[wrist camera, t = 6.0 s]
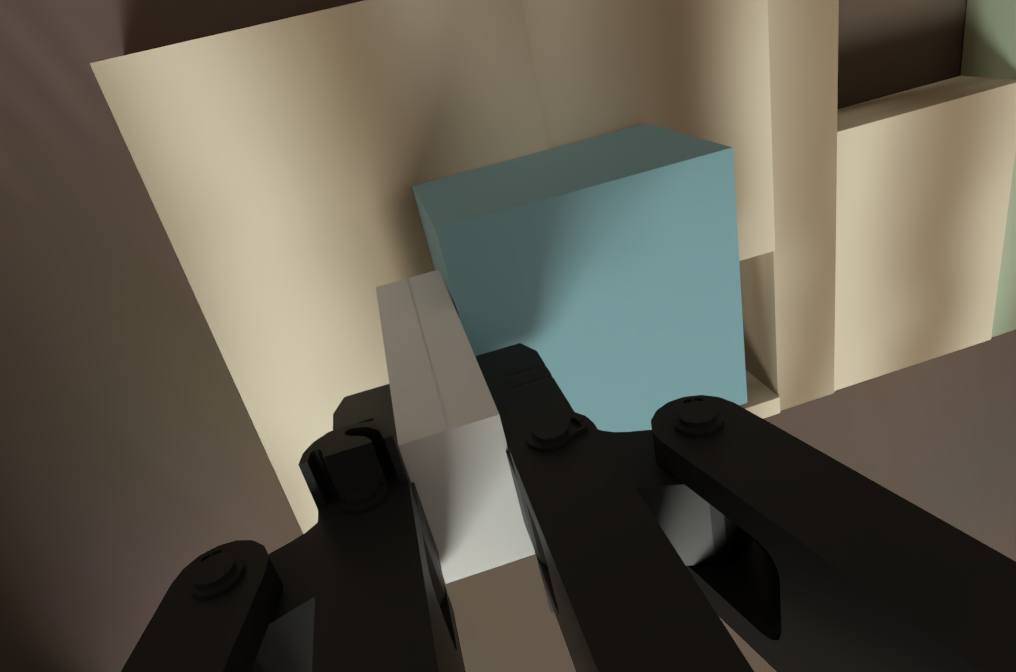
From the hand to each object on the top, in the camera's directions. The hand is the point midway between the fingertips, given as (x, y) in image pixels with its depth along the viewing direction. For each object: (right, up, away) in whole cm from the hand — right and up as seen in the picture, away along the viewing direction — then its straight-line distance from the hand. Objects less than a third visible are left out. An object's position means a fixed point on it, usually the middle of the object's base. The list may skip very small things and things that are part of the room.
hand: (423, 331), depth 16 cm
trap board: (+8, +4, +5) cm, 10 cm away
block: (+3, +2, +2) cm, 4 cm away
